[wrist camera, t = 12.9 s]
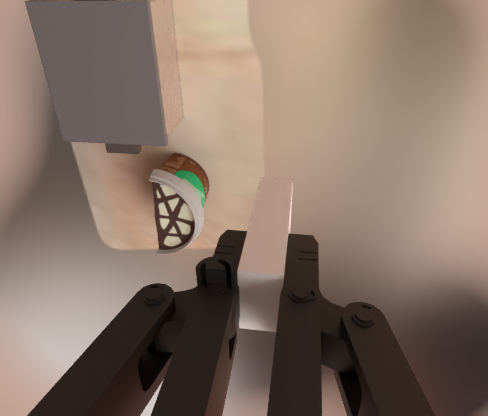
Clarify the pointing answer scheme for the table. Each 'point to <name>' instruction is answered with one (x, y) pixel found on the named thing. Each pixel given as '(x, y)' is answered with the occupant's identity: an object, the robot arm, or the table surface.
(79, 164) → the table surface
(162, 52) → the rectangular cooking pot
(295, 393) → the robot arm
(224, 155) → the table surface
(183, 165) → the food container
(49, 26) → the pot lid
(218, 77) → the table surface
